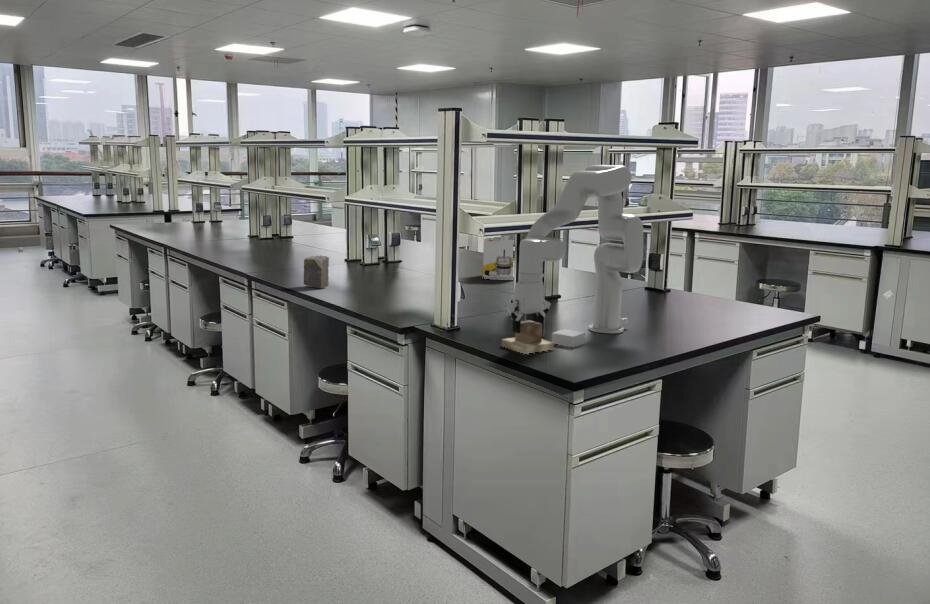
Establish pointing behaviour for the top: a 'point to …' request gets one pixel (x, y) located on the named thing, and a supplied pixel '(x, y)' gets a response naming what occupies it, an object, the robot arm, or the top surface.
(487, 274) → the packaging box
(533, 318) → the supplement bottle
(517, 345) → the oak block
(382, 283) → the top surface
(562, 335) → the grey plastic block
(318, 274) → the geological specimen
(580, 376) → the top surface
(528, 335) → the walnut cube
